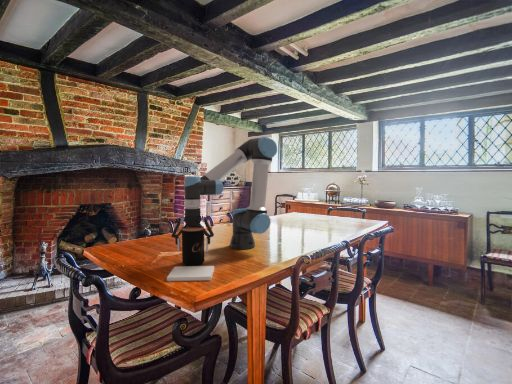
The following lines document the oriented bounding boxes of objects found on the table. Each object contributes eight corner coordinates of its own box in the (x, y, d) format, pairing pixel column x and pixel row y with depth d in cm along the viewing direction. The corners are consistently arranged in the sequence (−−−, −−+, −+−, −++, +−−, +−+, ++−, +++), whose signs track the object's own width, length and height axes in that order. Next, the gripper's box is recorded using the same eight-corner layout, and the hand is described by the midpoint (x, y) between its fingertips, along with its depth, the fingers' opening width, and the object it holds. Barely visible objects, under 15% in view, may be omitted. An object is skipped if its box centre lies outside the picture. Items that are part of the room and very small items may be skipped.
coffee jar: (193, 268, 135) (193, 230, 134) (177, 264, 141) (176, 227, 140) (209, 262, 144) (208, 226, 143) (193, 259, 150) (192, 224, 149)
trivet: (214, 269, 134) (214, 265, 134) (210, 280, 120) (210, 276, 120) (174, 269, 133) (174, 266, 133) (166, 281, 119) (166, 277, 119)
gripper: (164, 208, 136) (165, 253, 138) (217, 208, 138) (217, 252, 139) (168, 207, 144) (169, 249, 145) (219, 207, 145) (219, 248, 146)
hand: (193, 251), depth 142 cm, fingers open, 13 cm apart
